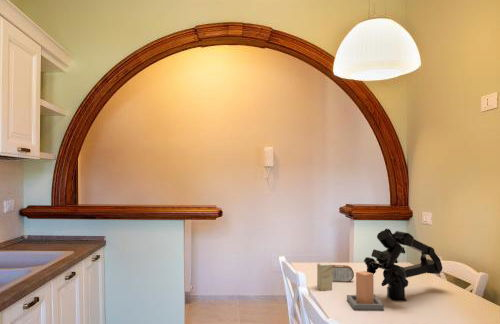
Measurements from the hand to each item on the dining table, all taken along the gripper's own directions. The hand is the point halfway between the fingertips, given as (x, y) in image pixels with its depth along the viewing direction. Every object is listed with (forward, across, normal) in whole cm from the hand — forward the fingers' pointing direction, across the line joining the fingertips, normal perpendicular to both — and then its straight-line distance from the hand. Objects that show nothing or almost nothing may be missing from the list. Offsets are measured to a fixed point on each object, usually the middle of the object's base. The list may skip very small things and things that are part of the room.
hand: (373, 282), depth 152 cm
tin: (+1, -31, +12) cm, 34 cm away
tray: (+10, 0, +2) cm, 10 cm away
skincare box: (+11, -25, +1) cm, 27 cm away
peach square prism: (+10, 0, +2) cm, 10 cm away
